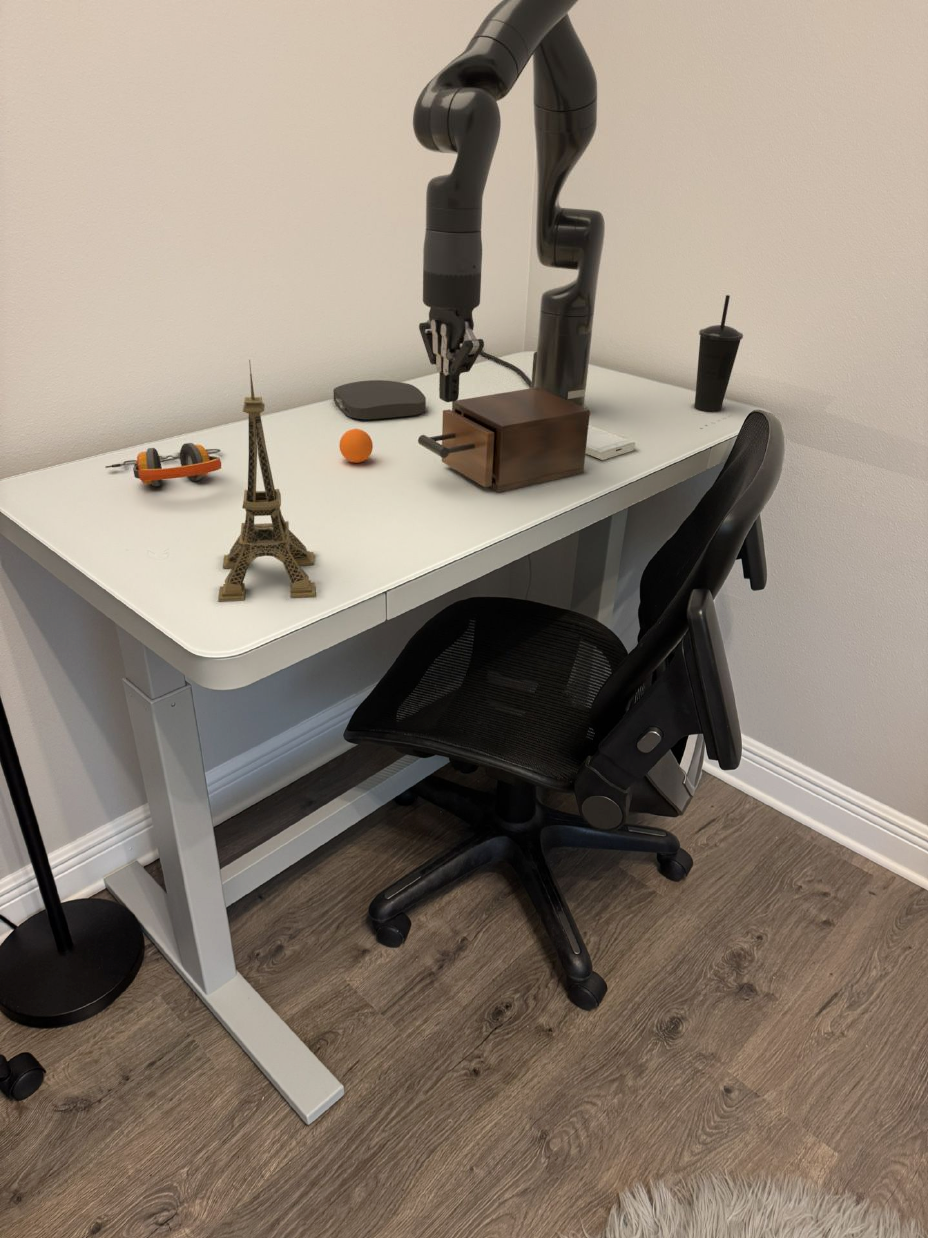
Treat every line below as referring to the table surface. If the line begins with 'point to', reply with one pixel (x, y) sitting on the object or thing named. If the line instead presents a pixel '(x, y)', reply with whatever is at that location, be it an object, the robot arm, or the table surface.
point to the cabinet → (532, 435)
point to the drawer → (466, 446)
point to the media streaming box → (379, 399)
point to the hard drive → (606, 444)
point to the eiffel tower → (269, 535)
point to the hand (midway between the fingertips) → (448, 399)
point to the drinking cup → (715, 363)
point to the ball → (356, 445)
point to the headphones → (192, 466)
